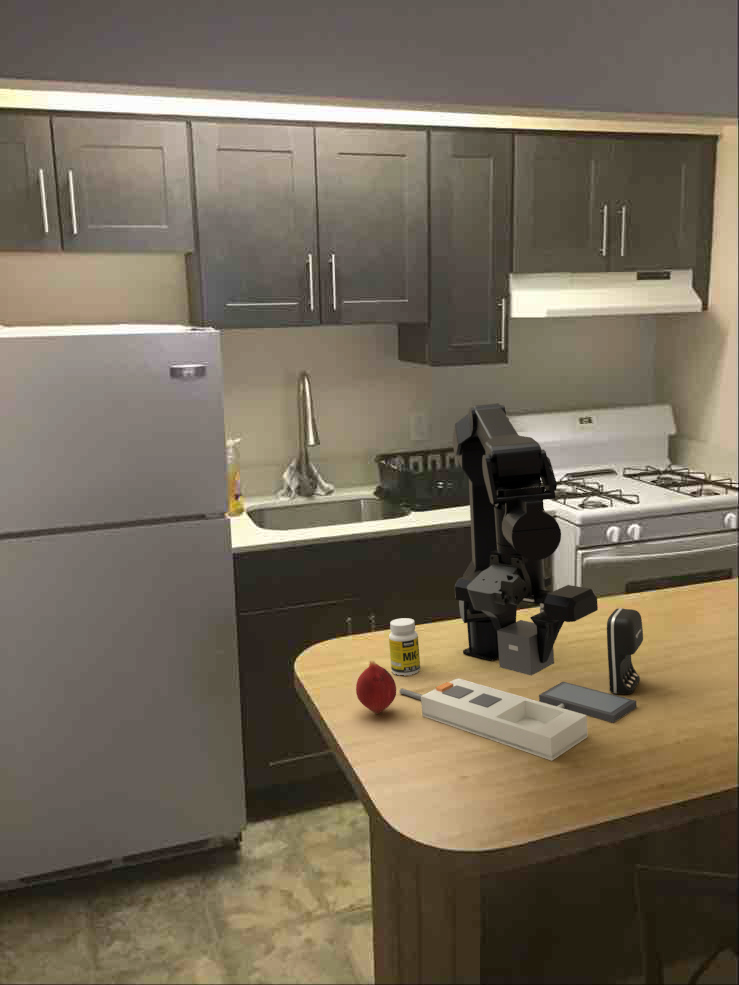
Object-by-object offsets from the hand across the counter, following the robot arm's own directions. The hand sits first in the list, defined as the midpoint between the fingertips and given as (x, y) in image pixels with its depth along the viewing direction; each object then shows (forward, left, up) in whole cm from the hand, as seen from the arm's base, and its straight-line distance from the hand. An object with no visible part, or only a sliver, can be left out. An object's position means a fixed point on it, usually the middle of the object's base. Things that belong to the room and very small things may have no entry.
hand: (526, 658), depth 109 cm
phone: (+1, +9, -11) cm, 14 cm away
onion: (-22, -7, -11) cm, 26 cm away
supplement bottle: (-30, +7, -11) cm, 33 cm away
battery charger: (+2, +21, -11) cm, 24 cm away
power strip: (-9, 0, -11) cm, 14 cm away
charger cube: (0, 0, -1) cm, 1 cm away
